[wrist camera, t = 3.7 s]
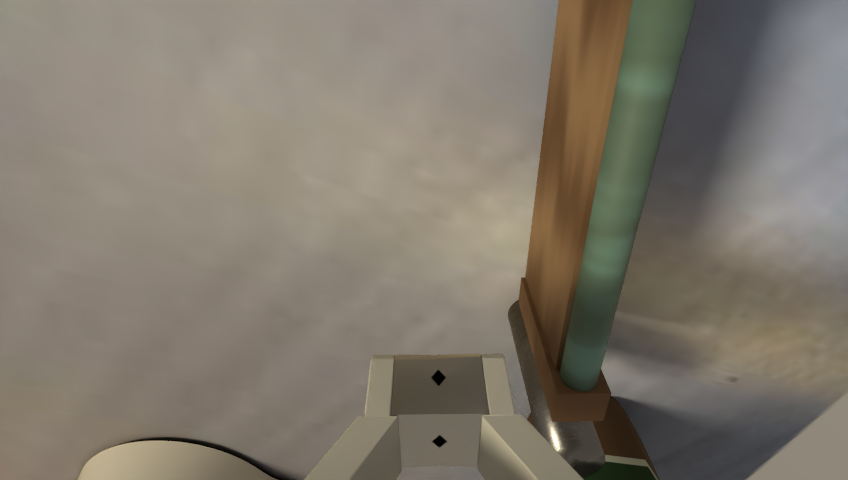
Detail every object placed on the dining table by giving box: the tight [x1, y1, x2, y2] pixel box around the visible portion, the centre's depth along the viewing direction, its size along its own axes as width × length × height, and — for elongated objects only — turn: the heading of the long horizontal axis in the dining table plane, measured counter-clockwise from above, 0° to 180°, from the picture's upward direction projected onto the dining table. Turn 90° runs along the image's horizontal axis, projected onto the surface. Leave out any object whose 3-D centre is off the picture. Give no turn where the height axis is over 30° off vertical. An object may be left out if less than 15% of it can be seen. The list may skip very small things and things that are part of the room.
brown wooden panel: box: [519, 0, 696, 422], centre depth 17 cm, size 17×2×7 cm, turn 1°
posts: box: [508, 300, 605, 478], centre depth 17 cm, size 24×3×10 cm, turn 1°
